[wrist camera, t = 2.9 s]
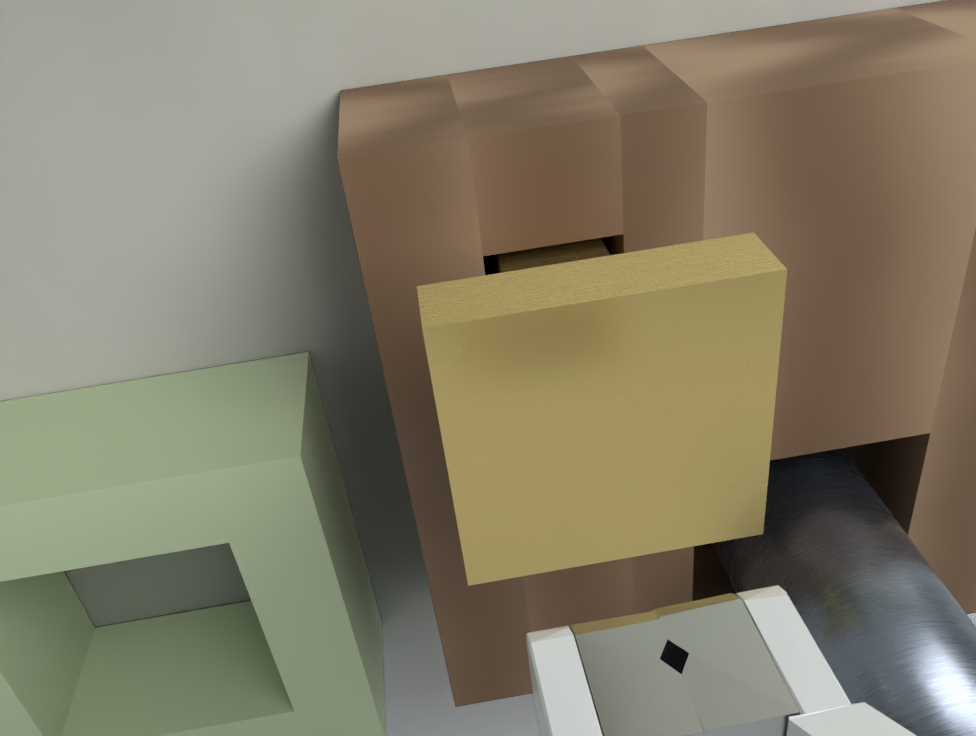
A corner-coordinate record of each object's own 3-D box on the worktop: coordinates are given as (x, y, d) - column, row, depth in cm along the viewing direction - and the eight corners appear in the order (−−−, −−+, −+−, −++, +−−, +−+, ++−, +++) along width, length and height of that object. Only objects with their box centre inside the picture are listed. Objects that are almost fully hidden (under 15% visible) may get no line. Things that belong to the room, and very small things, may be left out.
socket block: (1045, -15, 18) (1196, 27, 15) (925, 506, 27) (1005, 607, 24) (340, 90, 18) (337, 158, 14) (442, 591, 26) (455, 707, 23)
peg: (818, 366, 23) (1163, 791, 13) (804, 479, 26) (1091, 915, 16) (672, 391, 23) (912, 840, 13) (671, 502, 25) (875, 959, 15)
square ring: (308, 351, 21) (300, 455, 18) (382, 625, 27) (386, 742, 23) (-114, 419, 21) (-203, 540, 17) (52, 683, 26) (7, 812, 23)
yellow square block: (672, 142, 16) (787, 269, 12) (669, 365, 19) (763, 534, 15) (403, 184, 16) (421, 328, 12) (442, 403, 19) (468, 585, 14)
